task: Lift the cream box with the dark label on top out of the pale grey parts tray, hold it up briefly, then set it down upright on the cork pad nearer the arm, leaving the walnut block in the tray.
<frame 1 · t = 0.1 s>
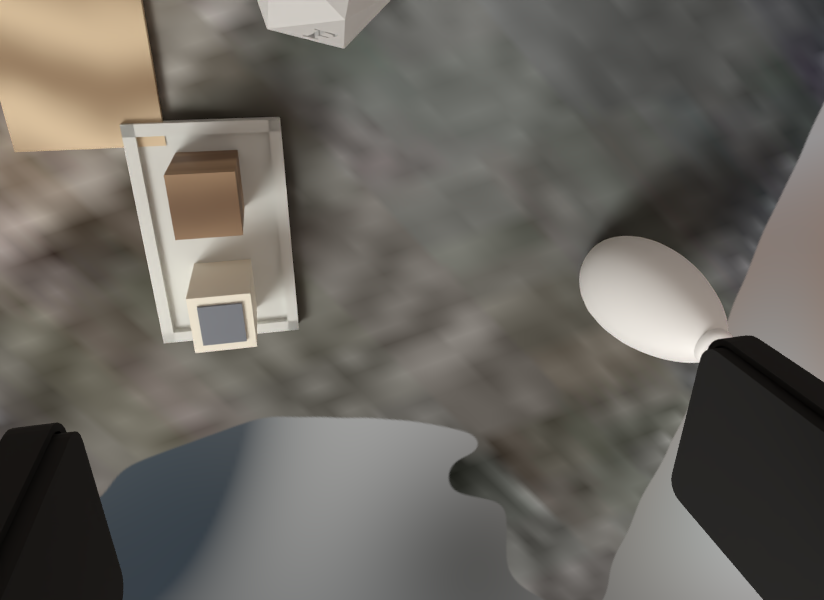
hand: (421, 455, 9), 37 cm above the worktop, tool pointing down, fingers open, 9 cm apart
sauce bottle: (599, 260, 53), on the worktop
pad: (77, 73, 38), on the worktop
label box: (226, 286, 45), resting on tray
walnut block: (211, 180, 42), resting on tray
tray: (219, 233, 44), on the worktop
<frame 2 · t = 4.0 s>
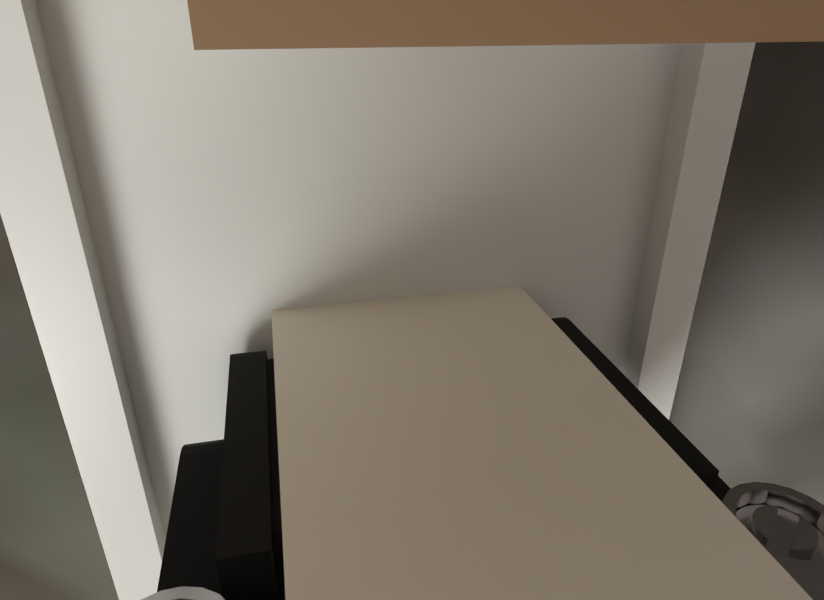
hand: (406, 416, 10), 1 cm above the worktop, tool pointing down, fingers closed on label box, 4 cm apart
label box: (401, 402, 10), point 1 cm above the worktop, touching gripper, tray
tray: (393, 162, 9), on the worktop
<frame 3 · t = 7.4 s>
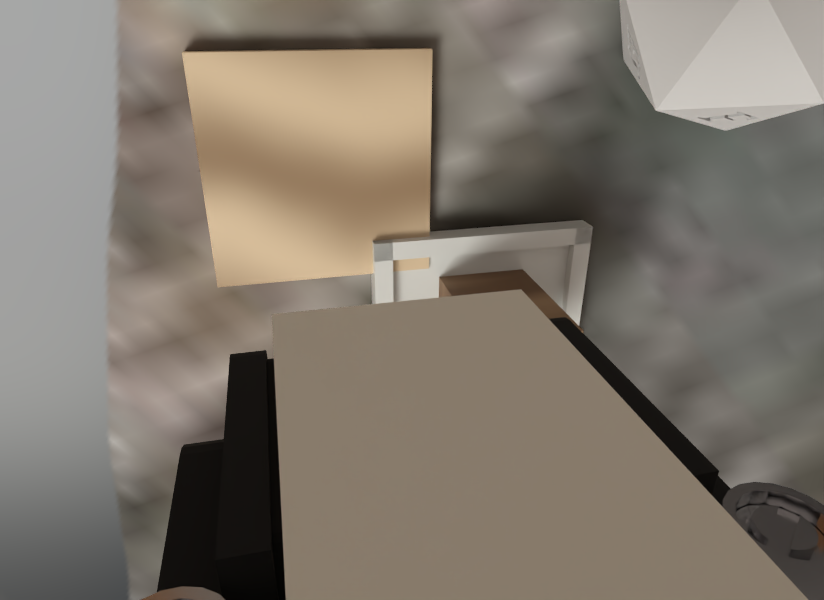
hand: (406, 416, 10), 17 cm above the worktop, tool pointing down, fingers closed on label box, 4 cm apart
pad: (319, 169, 25), on the worktop
label box: (402, 405, 10), point 16 cm above the worktop, touching gripper
die: (673, 4, 25), on the worktop
walnut block: (479, 311, 29), resting on tray
tray: (472, 377, 31), on the worktop
when the fingers open (2 cm above the worktop, at t = 10.7 s): label box stays where it is, resting on pad.
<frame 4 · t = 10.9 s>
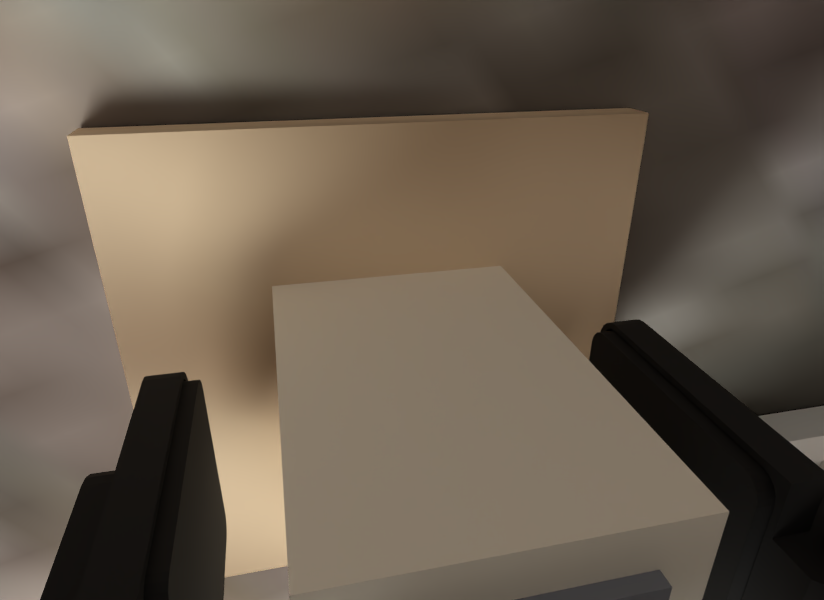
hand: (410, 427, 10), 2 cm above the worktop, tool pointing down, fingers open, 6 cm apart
pad: (384, 355, 12), on the worktop
label box: (392, 373, 11), point 1 cm above the worktop, touching pad
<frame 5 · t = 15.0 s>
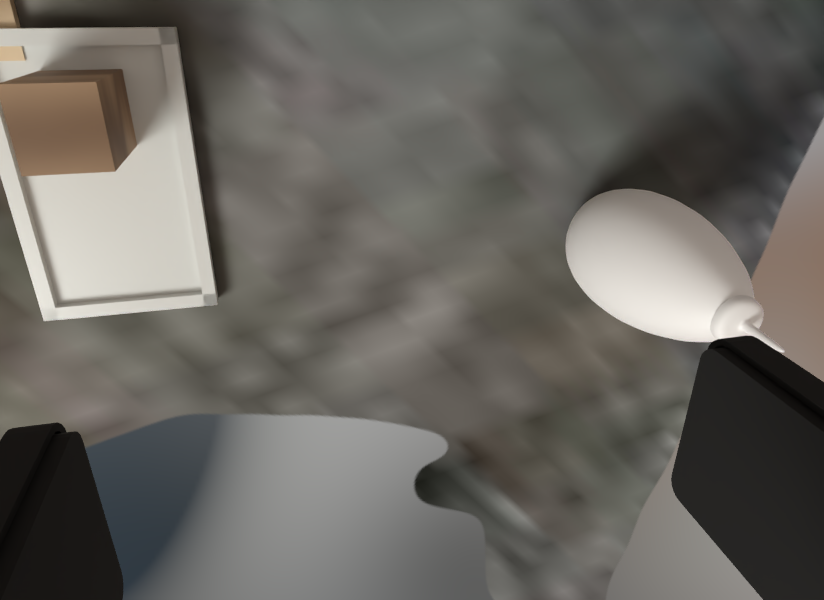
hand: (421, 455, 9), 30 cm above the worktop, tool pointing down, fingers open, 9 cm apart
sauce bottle: (590, 223, 43), on the worktop
walnut block: (90, 109, 33), resting on tray
tray: (108, 180, 35), on the worktop
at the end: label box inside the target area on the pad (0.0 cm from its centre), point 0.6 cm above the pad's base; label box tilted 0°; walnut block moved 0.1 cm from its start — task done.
